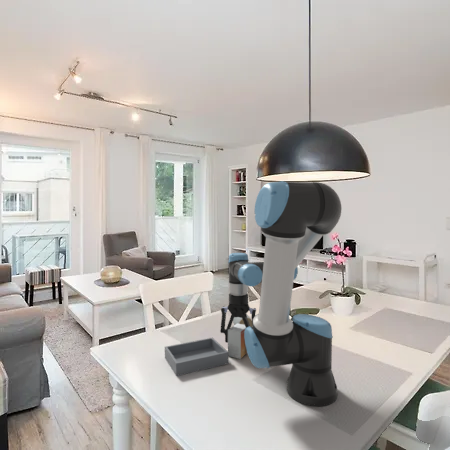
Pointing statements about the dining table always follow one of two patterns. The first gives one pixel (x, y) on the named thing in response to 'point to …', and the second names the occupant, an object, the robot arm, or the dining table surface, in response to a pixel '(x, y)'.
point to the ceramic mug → (241, 320)
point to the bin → (195, 356)
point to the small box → (236, 341)
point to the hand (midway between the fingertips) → (238, 351)
